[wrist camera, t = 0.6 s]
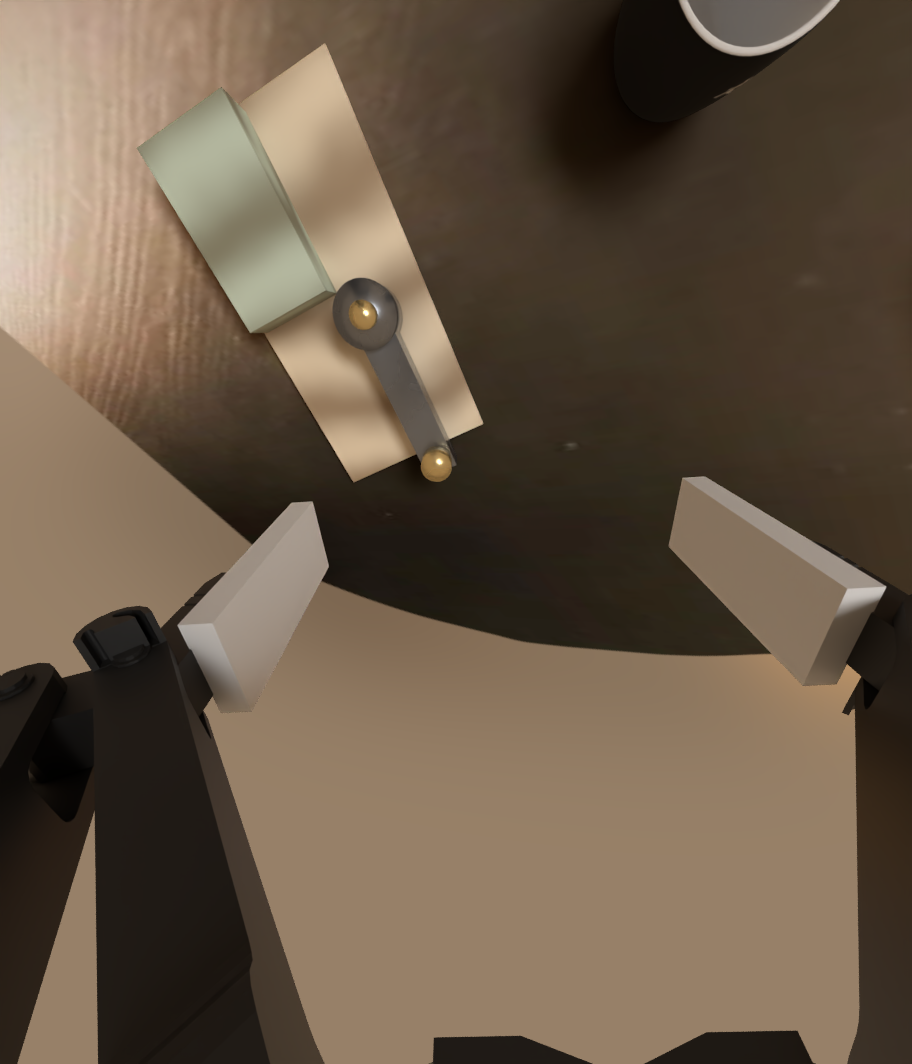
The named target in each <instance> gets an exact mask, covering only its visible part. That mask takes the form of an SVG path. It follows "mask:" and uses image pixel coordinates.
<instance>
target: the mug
mask: <svg viewBox="0 0 912 1064" xmlns="http://www.w3.org/2000/svg"><path fill="white" fill-rule="evenodd" d="M839 1H840V0H623V2H622V6H621V10H620V14H619V19H618V24H617V29H616V35H615V43H614V71H615V77H616V82H617V86H618V89H619V92H620V94H621V96H622V99H623V100H624V102H625V104H626V105H627V106H628V108H629V109H630V110H631V111H632V112H633V113H635V114H636V115H637V116H639V117H640V118H643V119H645V120H648V121H652V122H669V121H674V120H677V119H681V118H683V117H686V116H688V115H691V114H693V113H695V112H697V111H699V110H701V109H703V108H705V107H707V106H708V105H710V104H712V103H714V102H715V101H717V100H719V99H720V98H722V97H724V96H725V95H727V94H728V93H730V92H731V91H733V90H734V89H736V88H737V87H739V86H740V85H742V84H743V83H745V82H746V81H748V80H749V79H751V78H752V77H753V76H755V75H756V74H758V73H759V72H760V71H762V70H763V69H764V68H766V67H767V66H768V65H770V64H771V63H772V62H774V61H775V60H776V59H778V58H779V57H780V56H782V55H783V54H784V53H785V52H787V51H788V50H789V49H790V48H792V47H793V46H794V45H795V44H797V43H798V42H799V41H800V40H801V39H802V38H803V37H805V36H806V35H807V34H808V33H809V32H810V31H811V30H812V29H813V28H815V27H816V26H817V25H818V24H819V23H820V22H821V21H822V20H823V19H824V18H825V17H826V16H827V15H828V14H829V13H830V11H831V10H832V9H833V8H834V7H835V5H836V4H837V3H838V2H839Z"/></svg>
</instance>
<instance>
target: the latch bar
mask: <svg viewBox="0 0 912 1064" xmlns="http://www.w3.org/2000/svg"><path fill="white" fill-rule="evenodd" d="M332 313H333V320H334V323H335V326H336V328H337V330H338V332H339V334H340V335H341V336H342V338H343V339H344V340H345V341H346V342H347V343H349V344H350V345H351V346H353V347H355V348H358V349H361V350H364V351H365V353H366V355H367V357H368V359H369V361H370V363H371V365H372V367H373V369H374V371H375V373H376V375H377V377H378V379H379V381H380V383H381V385H382V387H383V389H384V391H385V393H386V395H387V397H388V399H389V401H390V403H391V404H392V406H393V408H394V410H395V412H396V414H397V416H398V418H399V420H400V422H401V424H402V426H403V428H404V430H405V432H406V434H407V436H408V438H409V440H410V442H411V444H412V446H413V448H414V450H415V452H416V454H417V456H418V458H419V460H420V462H421V471H422V473H423V475H424V476H425V477H426V478H427V479H428V480H430V481H434V482H439V481H443V480H445V479H446V478H447V477H448V476H449V475H450V473H451V468H452V467H453V466H455V465H457V455H456V453H455V451H454V448H453V446H452V444H451V442H450V440H449V438H448V435H447V433H446V431H445V429H444V427H443V425H442V422H441V420H440V418H439V416H438V414H437V412H436V409H435V407H434V405H433V403H432V401H431V399H430V396H429V394H428V392H427V390H426V388H425V386H424V383H423V381H422V379H421V377H420V375H419V373H418V370H417V368H416V366H415V364H414V362H413V360H412V357H411V355H410V353H409V351H408V349H407V347H406V344H405V342H404V340H403V338H402V336H401V334H400V331H401V328H402V323H403V314H402V309H401V306H400V303H399V301H398V299H397V298H396V296H395V295H394V294H393V293H392V292H391V291H390V290H389V289H388V288H386V287H385V286H383V285H381V284H379V283H378V282H376V281H374V280H371V279H368V278H354V279H351V280H349V281H347V282H346V283H344V284H343V285H342V286H341V287H340V288H339V290H338V291H337V293H336V295H335V298H334V301H333V307H332Z"/></svg>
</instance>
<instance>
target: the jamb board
mask: <svg viewBox="0 0 912 1064" xmlns="http://www.w3.org/2000/svg"><path fill="white" fill-rule="evenodd" d="M137 149H138V151H139V153H140V154H141V156H142V157H143V159H144V161H145V162H146V164H147V166H148V167H149V169H150V170H151V172H152V174H153V175H154V177H155V179H156V180H157V182H158V184H159V185H160V187H161V188H162V190H163V192H164V193H165V195H166V197H167V198H168V200H169V201H170V203H171V205H172V206H173V208H174V210H175V211H176V213H177V214H178V216H179V218H180V219H181V221H182V223H183V224H184V226H185V227H186V229H187V231H188V232H189V234H190V236H191V237H192V239H193V241H194V242H195V244H196V245H197V247H198V249H199V250H200V252H201V254H202V255H203V257H204V258H205V260H206V262H207V263H208V265H209V267H210V268H211V270H212V271H213V273H214V275H215V276H216V278H217V280H218V281H219V283H220V285H221V286H222V288H223V289H224V291H225V293H226V294H227V296H228V298H229V299H230V301H231V302H232V304H233V306H234V307H235V309H236V311H237V312H238V314H239V315H240V317H241V319H242V320H243V322H244V324H245V325H246V327H247V328H248V330H249V332H250V333H264V334H265V336H266V337H267V339H268V341H269V342H270V344H271V346H272V347H273V349H274V351H275V352H276V354H277V356H278V357H279V359H280V361H281V362H282V364H283V366H284V367H285V369H286V371H287V372H288V374H289V376H290V377H291V379H292V381H293V382H294V384H295V386H296V387H297V389H298V391H299V392H300V394H301V396H302V397H303V399H304V401H305V402H306V404H307V406H308V407H309V409H310V411H311V412H312V414H313V416H314V417H315V419H316V421H317V422H318V424H319V426H320V427H321V429H322V431H323V432H324V434H325V436H326V437H327V439H328V441H329V442H330V444H331V446H332V447H333V449H334V451H335V452H336V454H337V456H338V457H339V459H340V461H341V462H342V464H343V466H344V467H345V469H346V471H347V472H348V474H349V476H350V477H351V479H352V481H353V482H356V481H358V480H360V479H362V478H365V477H367V476H369V475H371V474H373V473H376V472H378V471H380V470H382V469H385V468H387V467H389V466H391V465H393V464H396V463H398V462H400V461H402V460H404V459H407V458H409V457H411V456H413V455H416V452H415V450H414V448H413V446H412V444H411V442H410V440H409V438H408V436H407V434H406V432H405V430H404V428H403V426H402V424H401V422H400V420H399V418H398V416H397V414H396V412H395V410H394V408H393V406H392V404H391V403H390V401H389V399H388V397H387V395H386V393H385V391H384V389H383V387H382V385H381V383H380V381H379V379H378V377H377V375H376V373H375V371H374V369H373V367H372V365H371V363H370V361H369V359H368V357H367V355H366V353H365V351H364V350H361V349H358V348H355V347H353V346H351V345H350V344H349V343H347V342H346V341H345V340H344V339H343V338H342V336H341V335H340V334H339V332H338V330H337V328H336V326H335V323H334V320H333V313H332V307H333V301H334V298H335V295H336V293H337V291H338V290H339V288H340V287H341V286H342V285H343V284H344V283H346V282H347V281H349V280H351V279H354V278H368V279H371V280H374V281H376V282H378V283H379V284H381V285H383V286H385V287H386V288H388V289H389V290H390V291H391V292H392V293H393V294H394V295H395V296H396V298H397V299H398V301H399V303H400V306H401V309H402V314H403V323H402V328H401V331H400V334H401V336H402V338H403V340H404V342H405V344H406V347H407V349H408V351H409V353H410V355H411V357H412V360H413V362H414V364H415V366H416V368H417V370H418V373H419V375H420V377H421V379H422V381H423V383H424V386H425V388H426V390H427V392H428V394H429V396H430V399H431V401H432V403H433V405H434V407H435V409H436V412H437V414H438V416H439V418H440V420H441V422H442V425H443V427H444V429H445V431H446V433H447V435H448V438H449V439H451V438H453V437H455V436H458V435H460V434H462V433H464V432H466V431H469V430H471V429H473V428H475V427H478V426H480V425H482V424H483V421H482V419H481V417H480V414H479V412H478V409H477V407H476V405H475V402H474V400H473V397H472V395H471V393H470V390H469V388H468V385H467V383H466V381H465V378H464V376H463V373H462V371H461V369H460V366H459V364H458V361H457V359H456V356H455V354H454V352H453V349H452V347H451V344H450V342H449V340H448V337H447V335H446V332H445V330H444V328H443V325H442V323H441V320H440V318H439V316H438V313H437V311H436V308H435V306H434V304H433V301H432V299H431V296H430V294H429V291H428V289H427V287H426V284H425V282H424V279H423V277H422V275H421V272H420V270H419V267H418V265H417V263H416V260H415V258H414V255H413V253H412V251H411V248H410V246H409V243H408V241H407V238H406V236H405V234H404V231H403V229H402V226H401V224H400V222H399V219H398V217H397V214H396V212H395V210H394V207H393V205H392V202H391V200H390V198H389V195H388V193H387V190H386V188H385V186H384V183H383V181H382V178H381V176H380V173H379V171H378V169H377V166H376V164H375V161H374V159H373V157H372V154H371V152H370V149H369V147H368V145H367V142H366V140H365V137H364V135H363V133H362V130H361V128H360V125H359V123H358V121H357V118H356V116H355V113H354V111H353V108H352V106H351V104H350V101H349V99H348V96H347V94H346V92H345V89H344V87H343V84H342V82H341V80H340V77H339V75H338V72H337V70H336V68H335V65H334V63H333V60H332V58H331V55H330V53H329V51H328V49H327V46H326V44H323V45H322V46H320V47H319V48H317V49H316V50H315V51H313V52H312V53H310V54H309V55H308V56H306V57H305V58H303V59H302V60H300V61H299V62H298V63H296V64H295V65H293V66H292V67H291V68H289V69H288V70H286V71H285V72H283V73H282V74H281V75H279V76H278V77H276V78H275V79H273V80H272V81H271V82H269V83H268V84H266V85H265V86H264V87H262V88H261V89H259V90H258V91H256V92H255V93H254V94H252V95H251V96H249V97H248V98H246V99H245V100H244V101H242V102H241V103H239V104H237V103H236V102H235V100H234V99H233V98H232V97H231V96H230V95H229V94H228V93H227V92H226V91H225V90H224V89H223V88H222V87H221V88H219V89H218V90H217V91H215V92H214V93H212V94H211V95H210V96H208V97H207V98H205V99H204V100H203V101H201V102H200V103H199V104H197V105H196V106H194V107H193V108H192V109H190V110H189V111H187V112H186V113H185V114H183V115H182V116H180V117H179V118H178V119H176V120H175V121H174V122H172V123H171V124H169V125H168V126H167V127H165V128H164V129H162V130H161V131H160V132H158V133H157V134H156V135H154V136H153V137H151V138H150V139H149V140H147V141H146V142H144V143H143V144H142V145H140V146H139V147H138V148H137Z"/></svg>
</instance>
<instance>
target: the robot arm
mask: <svg viewBox="0 0 912 1064" xmlns="http://www.w3.org/2000/svg"><path fill="white" fill-rule="evenodd" d="M669 547H670V548H671V549H672V550H673V552H674V553H675V554H676V555H677V556H678V557H679V558H680V559H681V560H682V561H683V562H684V563H685V564H686V565H687V566H688V567H689V568H690V569H691V570H692V571H693V572H694V573H695V574H696V575H697V576H698V577H699V579H700V580H701V581H702V582H703V583H704V584H705V585H706V586H707V587H708V588H709V589H710V590H711V591H712V592H713V593H714V594H715V595H716V596H717V597H718V598H719V599H720V600H721V601H722V602H723V603H724V605H725V606H726V607H727V608H728V609H729V610H730V611H731V612H732V613H733V614H734V615H735V616H736V617H737V618H738V619H739V620H740V621H741V622H742V623H743V624H744V625H745V626H746V627H747V628H748V629H749V630H750V632H751V633H752V634H753V635H754V636H755V637H756V638H757V639H758V640H759V641H760V642H761V643H762V644H763V645H764V646H765V647H766V648H767V649H768V650H769V651H770V652H771V653H772V654H773V655H774V656H775V657H776V658H777V660H778V661H779V662H780V663H781V664H782V665H783V666H784V667H785V668H786V669H787V670H788V671H789V672H790V673H791V674H792V675H793V676H794V677H795V678H796V679H797V680H798V681H799V682H800V683H801V685H803V686H810V685H831V684H837V682H838V680H839V679H840V677H841V675H842V673H843V670H844V669H845V667H846V665H847V664H848V665H849V666H850V667H851V668H852V669H854V670H855V671H856V672H857V673H858V674H860V676H861V678H860V680H859V682H858V684H857V686H856V687H855V689H854V691H853V693H852V695H851V697H850V698H849V700H848V702H847V704H846V706H845V708H844V710H843V712H842V713H844V714H847V715H849V714H850V712H851V710H852V709H855V730H856V731H855V735H856V736H855V737H856V798H857V799H856V803H857V866H858V867H857V871H858V933H859V934H858V936H859V997H860V998H859V1002H860V1009H859V1024H858V1029H857V1034H856V1037H855V1040H854V1043H853V1046H852V1049H851V1052H850V1055H849V1058H848V1064H912V594H911V595H908V594H906V593H905V592H903V591H901V590H899V589H898V588H896V587H894V586H893V585H891V584H889V583H888V582H886V581H884V580H883V579H881V578H879V577H878V576H876V575H874V574H873V573H871V572H869V571H867V570H866V569H864V568H862V567H858V565H857V564H856V563H854V562H852V561H851V560H849V559H847V558H846V559H844V556H842V555H841V554H839V553H837V552H836V551H834V550H832V549H830V548H829V547H827V546H825V545H822V544H820V543H817V542H814V541H812V540H809V539H807V538H805V537H804V536H802V535H800V534H799V533H797V532H796V531H794V530H792V529H791V528H789V527H787V526H786V525H784V524H782V523H781V522H779V521H777V520H776V519H774V518H772V517H771V516H769V515H767V514H766V513H764V512H763V511H761V510H759V509H758V508H756V507H754V506H753V505H751V504H749V503H748V502H746V501H744V500H743V499H741V498H739V497H738V496H736V495H734V494H733V493H731V492H729V491H728V490H726V489H725V488H723V487H721V486H720V485H718V484H716V483H715V482H713V481H711V480H710V479H708V478H706V477H689V478H682V483H681V488H680V493H679V498H678V503H677V508H676V513H675V518H674V523H673V528H672V533H671V538H670V543H669ZM328 567H329V565H328V561H327V557H326V553H325V549H324V545H323V541H322V537H321V533H320V529H319V525H318V521H317V517H316V514H315V510H314V506H313V502H299V503H291V504H290V505H289V506H288V507H287V508H286V509H285V511H284V512H283V513H282V514H281V515H280V516H279V517H278V518H277V519H276V520H275V521H274V522H273V523H272V524H271V526H270V527H269V528H268V529H267V530H266V531H265V532H264V533H263V534H262V535H261V536H260V537H259V538H258V539H257V541H256V542H255V543H254V544H253V545H252V546H251V547H250V548H249V549H248V550H247V552H245V553H244V554H243V556H242V557H241V558H240V559H239V560H238V561H237V562H236V563H235V564H234V565H233V566H232V567H231V568H230V570H228V572H226V573H221V574H219V575H217V576H216V577H214V578H213V579H211V580H209V581H208V582H206V583H205V584H204V585H203V586H202V587H201V588H200V589H199V590H198V591H197V592H196V593H195V594H194V597H191V598H190V599H189V600H188V601H187V602H186V603H185V606H183V607H181V608H180V609H179V610H178V611H177V612H176V613H175V614H174V615H173V616H172V617H171V618H170V620H168V622H166V623H165V624H164V625H163V627H162V628H161V629H160V627H159V625H158V623H157V621H156V619H155V617H154V615H153V613H152V611H151V610H150V609H149V608H148V607H142V606H135V607H126V608H123V609H120V610H116V611H113V612H110V613H108V614H106V615H104V616H101V617H99V618H97V619H95V620H94V621H92V622H91V623H89V624H87V625H86V626H85V627H84V628H82V629H81V630H80V631H79V632H78V633H77V634H76V636H75V638H74V640H73V643H74V644H75V646H76V647H77V649H78V650H79V652H80V653H81V655H82V656H83V658H84V659H85V661H86V662H87V664H88V665H89V667H90V668H91V671H88V672H84V673H80V674H76V675H72V676H68V677H64V678H61V676H60V675H59V673H58V672H57V671H56V670H55V668H54V667H53V666H52V665H50V663H37V664H32V665H27V666H24V667H21V668H19V669H16V670H11V671H9V672H6V673H4V674H3V675H2V676H1V675H0V1064H17V1062H18V1059H19V1056H20V1053H21V1049H22V1046H23V1043H24V1039H25V1036H26V1033H27V1030H28V1026H29V1023H30V1020H31V1017H32V1013H33V1010H34V1006H35V1004H36V1000H37V997H38V994H39V990H40V987H41V984H42V981H43V977H44V974H45V970H46V967H47V964H48V961H49V958H50V954H51V951H52V948H53V945H54V941H55V938H56V935H57V931H58V928H59V925H60V922H61V918H62V915H63V912H64V909H65V905H66V902H67V899H68V895H69V892H70V889H71V885H72V882H73V879H74V876H75V873H76V869H77V866H78V862H79V859H80V856H81V853H82V850H83V846H84V843H85V840H86V836H87V833H88V830H89V827H90V823H91V820H92V817H93V813H94V810H95V857H96V858H95V866H96V937H97V1011H98V1064H324V1062H323V1059H322V1057H321V1055H320V1053H319V1050H318V1048H317V1046H316V1044H315V1041H314V1039H313V1036H312V1033H311V1031H310V1028H309V1025H308V1022H307V1019H306V1016H305V1013H304V1010H303V1007H302V1004H301V1001H300V998H299V995H298V992H297V989H296V986H295V983H294V980H293V977H292V974H291V970H290V968H289V965H288V961H287V958H286V955H285V952H284V949H283V946H282V943H281V940H280V937H279V934H278V931H277V928H276V925H275V922H274V919H273V916H272V913H271V910H270V906H269V903H268V900H267V898H266V895H265V891H264V888H263V885H262V882H261V879H260V876H259V873H258V870H257V867H256V864H255V861H254V858H253V855H252V852H251V849H250V846H249V843H248V840H247V837H246V833H245V830H244V828H243V824H242V821H241V818H240V815H239V812H238V809H237V806H236V803H235V800H234V797H233V794H232V791H231V788H230V785H229V782H228V778H227V776H226V772H225V769H224V767H223V763H222V760H221V757H220V754H219V751H218V748H217V745H216V742H215V739H214V736H213V733H212V730H211V727H210V724H209V721H208V718H207V716H206V714H205V713H204V711H203V710H204V708H205V707H206V705H207V704H208V702H209V701H210V699H211V698H212V696H213V698H214V700H215V702H216V704H217V706H218V708H219V710H220V712H221V713H231V712H251V711H252V710H253V708H254V706H255V704H256V702H257V700H258V699H259V697H260V695H261V693H262V691H263V689H264V687H265V685H266V683H267V682H268V680H269V678H270V676H271V674H272V672H273V670H274V669H275V666H276V665H277V663H278V661H279V659H280V657H281V655H282V653H283V652H284V650H285V648H286V646H287V644H288V642H289V640H290V638H291V637H292V635H293V633H294V631H295V629H296V627H297V625H298V624H299V622H300V620H301V618H302V616H303V614H304V612H305V610H306V608H307V606H308V604H309V603H310V601H311V599H312V597H313V595H314V593H315V591H316V590H317V588H318V586H319V584H320V582H321V580H322V578H323V577H324V575H325V573H326V571H327V569H328ZM433 1051H434V1052H433V1062H432V1063H429V1064H592V1063H589V1062H587V1061H584V1060H582V1059H578V1058H576V1057H574V1056H571V1055H568V1054H566V1053H564V1052H561V1051H558V1050H556V1049H553V1048H551V1047H548V1046H545V1045H543V1044H540V1043H538V1042H535V1041H533V1040H530V1039H527V1038H525V1037H522V1036H494V1037H493V1036H492V1037H442V1038H441V1037H440V1038H439V1037H438V1038H434V1050H433ZM645 1064H815V1063H813V1062H812V1061H811V1058H810V1056H809V1054H808V1052H807V1050H806V1048H805V1046H804V1044H803V1042H802V1040H801V1037H800V1036H799V1033H798V1031H756V1032H707V1033H704V1034H703V1035H700V1036H698V1037H696V1038H694V1039H692V1040H691V1041H688V1042H686V1043H684V1044H682V1045H680V1046H679V1047H677V1048H675V1049H673V1050H671V1051H669V1052H667V1053H665V1054H663V1055H661V1056H659V1057H657V1058H655V1059H653V1060H651V1061H649V1062H647V1063H645Z"/></svg>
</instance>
